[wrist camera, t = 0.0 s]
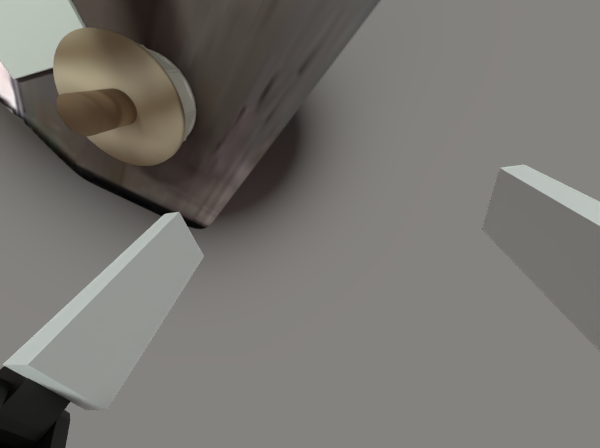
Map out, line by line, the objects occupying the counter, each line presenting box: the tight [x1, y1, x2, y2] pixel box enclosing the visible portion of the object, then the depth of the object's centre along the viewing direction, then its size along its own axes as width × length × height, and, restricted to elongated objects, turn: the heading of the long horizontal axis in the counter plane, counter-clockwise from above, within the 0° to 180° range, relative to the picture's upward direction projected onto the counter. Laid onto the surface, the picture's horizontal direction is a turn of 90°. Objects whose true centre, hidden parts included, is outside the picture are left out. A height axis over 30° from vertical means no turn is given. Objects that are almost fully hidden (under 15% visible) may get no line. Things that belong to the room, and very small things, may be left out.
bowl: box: [139, 44, 196, 141], centre depth 32 cm, size 12×12×6 cm
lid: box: [53, 27, 185, 166], centre depth 26 cm, size 15×15×7 cm
